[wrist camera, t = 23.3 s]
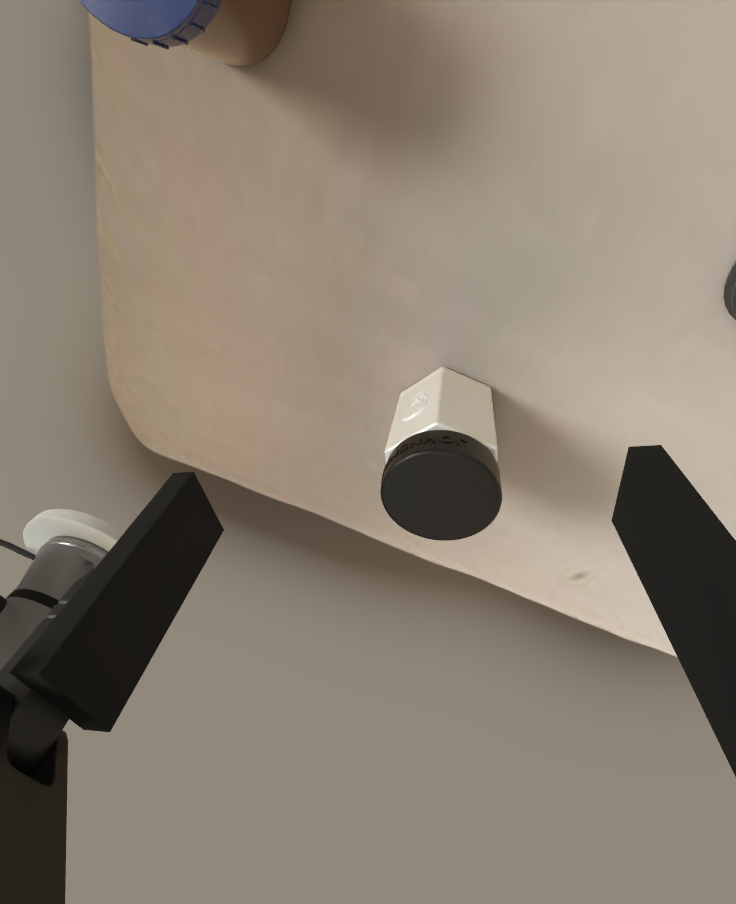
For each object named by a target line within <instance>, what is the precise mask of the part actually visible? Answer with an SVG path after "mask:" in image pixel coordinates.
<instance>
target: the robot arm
mask: <svg viewBox="0 0 736 904" xmlns="http://www.w3.org/2000/svg"><path fill="white" fill-rule="evenodd" d="M612 522H613V524H614V526H615V528H616V530H617V533H618V535H619V537H620V539H621V541H622V543H623V545H624V547H625V549H626V551H627V553H628V555H629V557H630V559H631V562H632V564H633V566H634V568H635V570H636V572H637V574H638V576H639V578H640V580H641V582H642V584H643V586H644V588H645V590H646V593H647V595H648V597H649V599H650V601H651V603H652V605H653V607H654V609H655V611H656V613H657V615H658V617H659V619H660V621H661V624H662V626H663V628H664V630H665V632H666V634H667V636H668V638H669V640H670V642H671V644H672V646H673V648H674V650H675V652H676V655H677V657H678V659H679V661H680V663H681V665H682V667H683V669H684V671H685V673H686V675H687V677H688V679H689V681H690V683H691V686H692V688H693V690H694V692H695V694H696V696H697V698H698V700H699V702H700V704H701V706H702V708H703V710H704V712H705V714H706V717H707V719H708V721H709V723H710V724H711V727H712V729H713V731H714V733H715V735H716V737H717V739H718V741H719V743H720V745H721V748H722V750H723V752H724V754H725V756H726V758H727V760H728V762H729V764H730V766H731V768H732V770H733V772H734V774H735V776H736V541H735V539H734V538H733V537H732V536H731V534H730V533H729V532H728V530H727V529H726V528H725V527H724V525H723V524H722V523H721V521H720V520H719V519H718V518H717V516H716V515H715V514H714V513H713V511H712V510H711V509H710V507H709V506H708V505H707V504H706V502H705V501H704V500H703V498H702V497H701V496H700V495H699V493H698V492H697V491H696V489H695V488H694V487H693V486H692V484H691V483H690V482H689V480H688V479H687V478H686V477H685V475H684V474H683V473H682V471H681V470H680V469H679V468H678V466H677V465H676V464H675V463H674V461H673V460H672V459H671V457H670V456H669V455H668V454H667V452H666V451H665V450H664V448H663V447H662V446H661V445H655V446H638V447H629V449H628V453H627V457H626V461H625V466H624V470H623V474H622V479H621V483H620V487H619V492H618V496H617V500H616V504H615V509H614V513H613V517H612ZM223 531H224V529H223V527H222V525H221V524H220V521H219V520H218V518H217V516H216V514H215V512H214V510H213V508H212V506H211V504H210V503H209V500H208V498H207V497H206V495H205V493H204V491H203V489H202V487H201V485H200V483H199V481H198V479H197V477H196V475H195V473H194V472H183V473H173V474H172V476H171V477H170V478H169V479H168V480H167V482H166V483H165V484H164V485H163V487H162V488H161V489H160V490H159V491H158V492H157V494H156V495H155V496H154V497H153V499H152V500H151V501H150V502H149V504H148V505H147V506H146V507H145V508H144V509H143V511H142V512H141V513H140V514H139V516H138V517H137V518H136V519H135V521H134V522H133V523H132V524H131V525H130V526H129V528H128V529H127V530H126V531H125V533H124V534H123V535H122V536H121V537H120V539H119V540H118V541H117V542H116V543H115V545H114V546H113V547H112V548H111V550H110V551H109V552H108V551H107V550H105V549H103V548H102V547H100V546H98V545H96V544H94V543H92V542H89V541H87V540H84V539H81V538H77V537H72V536H56V537H53V538H51V539H50V540H48V541H47V542H46V543H45V544H44V545H43V546H42V547H41V548H40V549H39V551H38V552H37V554H36V555H35V554H33V553H31V552H28V551H26V550H24V549H22V548H19V547H17V546H15V545H13V544H11V543H9V542H6V541H4V540H1V539H0V545H1V546H4V547H6V548H8V549H10V550H13V551H15V552H16V553H18V554H21V555H23V556H25V557H28V558H30V559H32V560H34V561H33V562H32V564H31V565H30V567H29V569H28V570H27V572H26V574H25V575H24V577H23V579H22V581H21V582H20V584H19V586H18V587H17V588H16V589H15V590H14V591H13V592H12V593H11V594H10V595H9V596H8V597H7V598H6V599H5V598H3V597H2V596H0V904H65V874H66V817H67V762H68V760H67V759H68V739H67V735H66V732H64V731H63V730H62V729H63V728H64V726H65V725H66V723H67V721H68V720H69V719H70V720H72V721H73V722H74V723H75V724H77V725H78V726H79V727H81V728H82V729H83V730H94V731H104V732H110V731H111V729H112V727H113V726H114V724H115V722H116V720H117V719H118V717H119V715H120V713H121V711H122V710H123V708H124V706H125V704H126V703H127V701H128V699H129V697H130V695H131V694H132V692H133V690H134V688H135V686H136V685H137V683H138V681H139V680H140V677H141V676H142V674H143V672H144V670H145V669H146V667H147V665H148V664H149V662H150V660H151V658H152V656H153V655H154V653H155V651H156V649H157V647H158V646H159V644H160V642H161V641H162V639H163V637H164V635H165V633H166V631H167V630H168V628H169V626H170V625H171V623H172V621H173V619H174V617H175V616H176V614H177V612H178V610H179V609H180V607H181V605H182V603H183V602H184V600H185V598H186V596H187V594H188V592H189V591H190V589H191V587H192V585H193V584H194V582H195V580H196V578H197V577H198V575H199V573H200V571H201V569H202V568H203V566H204V564H205V563H206V561H207V559H208V557H209V555H210V554H211V552H212V550H213V548H214V547H215V545H216V543H217V541H218V539H219V538H220V536H221V534H222V532H223Z"/></svg>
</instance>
